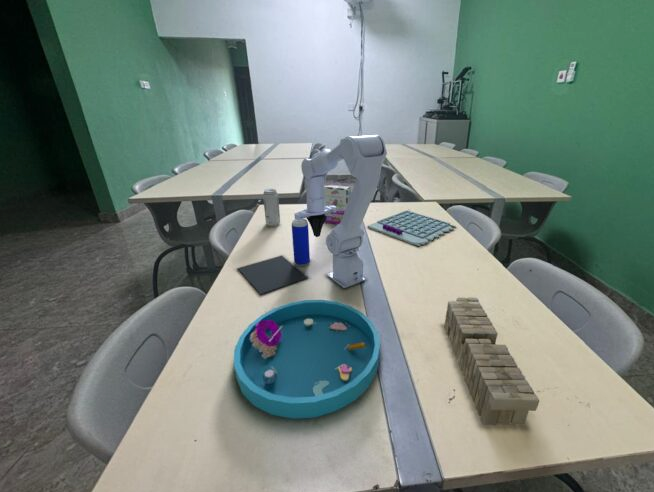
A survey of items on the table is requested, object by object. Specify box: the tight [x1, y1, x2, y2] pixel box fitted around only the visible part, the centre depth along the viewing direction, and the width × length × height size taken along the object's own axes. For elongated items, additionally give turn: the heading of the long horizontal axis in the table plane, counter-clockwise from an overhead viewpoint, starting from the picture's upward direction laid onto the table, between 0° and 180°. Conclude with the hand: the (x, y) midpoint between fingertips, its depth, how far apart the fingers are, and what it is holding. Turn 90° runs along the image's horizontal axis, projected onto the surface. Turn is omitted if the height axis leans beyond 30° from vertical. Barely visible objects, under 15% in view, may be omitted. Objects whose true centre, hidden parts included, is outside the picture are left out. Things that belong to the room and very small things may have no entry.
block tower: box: [443, 296, 540, 426], centre depth 66 cm, size 8×8×29 cm
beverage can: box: [291, 218, 311, 267], centre depth 103 cm, size 5×5×15 cm
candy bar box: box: [324, 184, 352, 225], centre depth 138 cm, size 11×5×16 cm, turn 73°
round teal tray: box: [233, 299, 381, 420], centre depth 68 cm, size 30×30×6 cm
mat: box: [237, 255, 309, 296], centre depth 99 cm, size 18×15×1 cm
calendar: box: [367, 210, 457, 248], centre depth 138 cm, size 27×29×2 cm
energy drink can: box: [262, 188, 281, 227], centre depth 134 cm, size 6×6×15 cm
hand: (316, 235), depth 106 cm, fingers closed
